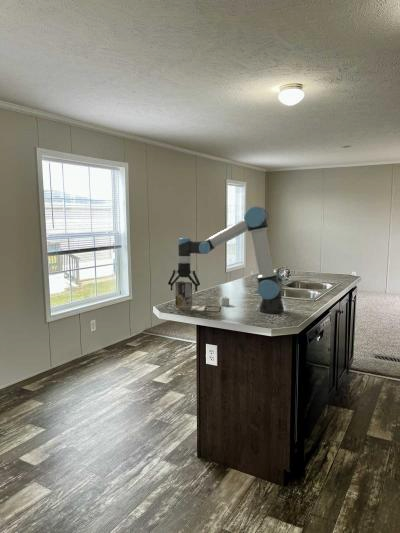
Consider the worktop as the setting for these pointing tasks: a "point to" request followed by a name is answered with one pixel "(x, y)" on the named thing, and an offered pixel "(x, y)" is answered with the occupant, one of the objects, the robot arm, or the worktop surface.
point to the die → (224, 301)
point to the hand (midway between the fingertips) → (183, 296)
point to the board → (197, 308)
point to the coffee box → (183, 294)
